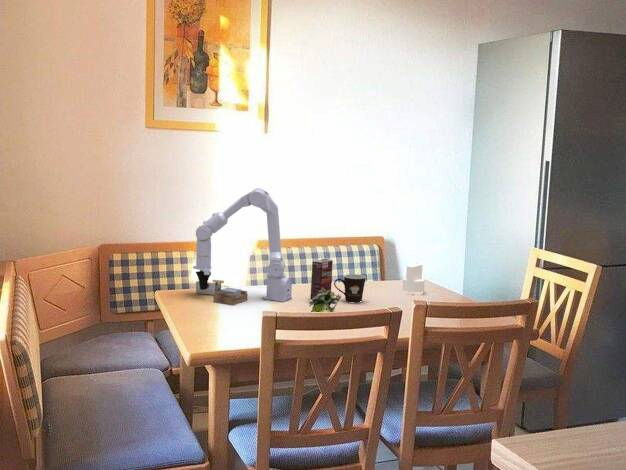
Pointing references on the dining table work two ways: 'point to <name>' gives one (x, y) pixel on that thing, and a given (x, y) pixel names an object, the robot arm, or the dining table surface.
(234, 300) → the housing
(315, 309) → the green leafy plant
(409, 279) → the base with upright slab
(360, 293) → the coffee mug
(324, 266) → the supplement box
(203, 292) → the key
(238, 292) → the lid
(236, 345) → the dining table surface
